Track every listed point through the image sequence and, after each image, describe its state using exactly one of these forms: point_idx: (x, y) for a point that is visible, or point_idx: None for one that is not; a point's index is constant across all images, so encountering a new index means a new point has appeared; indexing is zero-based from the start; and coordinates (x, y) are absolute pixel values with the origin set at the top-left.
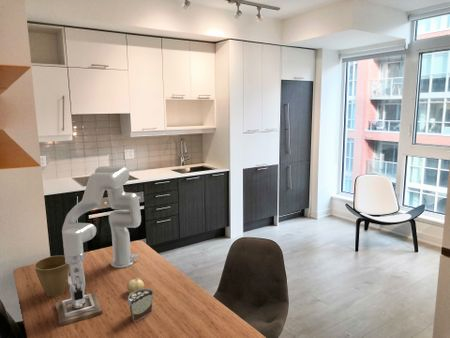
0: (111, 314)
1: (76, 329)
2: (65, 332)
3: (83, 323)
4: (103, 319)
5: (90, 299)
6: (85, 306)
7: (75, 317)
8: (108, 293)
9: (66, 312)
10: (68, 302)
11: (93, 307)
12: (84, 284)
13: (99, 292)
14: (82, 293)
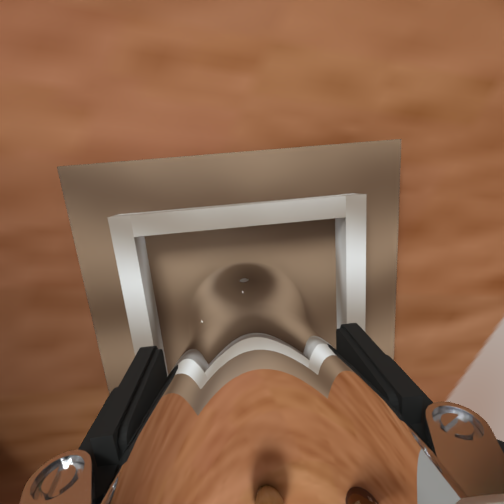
0: (431, 75)
1: (466, 315)
2: (459, 369)
3: (429, 276)
4: (460, 145)
5: (226, 224)
6: (271, 263)
7: (386, 331)
8: (70, 44)
9: None
10: None
11: (363, 207)
12: (369, 399)
13: (23, 128)
14: (387, 356)
